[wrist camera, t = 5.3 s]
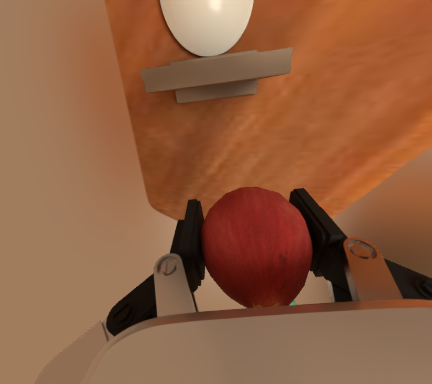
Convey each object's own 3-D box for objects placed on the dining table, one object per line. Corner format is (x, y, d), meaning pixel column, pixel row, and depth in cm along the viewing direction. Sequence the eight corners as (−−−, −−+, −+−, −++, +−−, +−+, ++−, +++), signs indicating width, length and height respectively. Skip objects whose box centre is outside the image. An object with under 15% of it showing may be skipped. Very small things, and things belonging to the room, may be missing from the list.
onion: (297, 197, 12) (396, 330, 6) (241, 237, 15) (265, 366, 8) (243, 147, 10) (302, 266, 4) (188, 203, 13) (160, 340, 6)
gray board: (170, 63, 23) (131, 41, 12) (256, 50, 23) (295, 16, 12) (178, 103, 26) (152, 114, 15) (255, 92, 25) (287, 97, 14)
